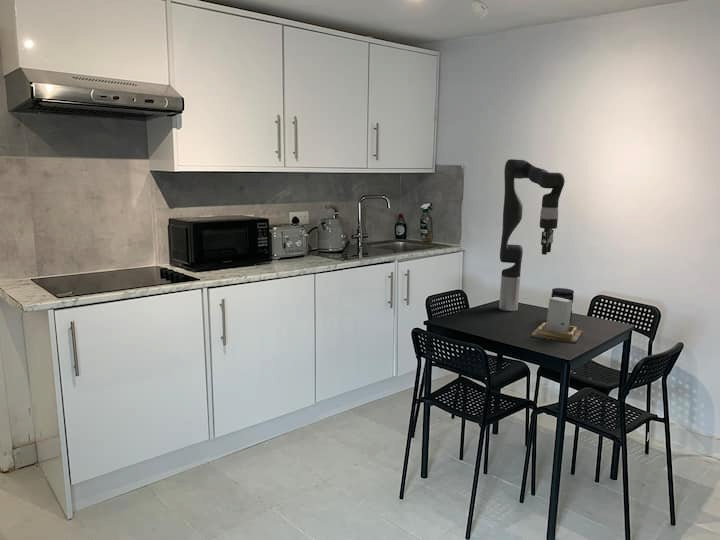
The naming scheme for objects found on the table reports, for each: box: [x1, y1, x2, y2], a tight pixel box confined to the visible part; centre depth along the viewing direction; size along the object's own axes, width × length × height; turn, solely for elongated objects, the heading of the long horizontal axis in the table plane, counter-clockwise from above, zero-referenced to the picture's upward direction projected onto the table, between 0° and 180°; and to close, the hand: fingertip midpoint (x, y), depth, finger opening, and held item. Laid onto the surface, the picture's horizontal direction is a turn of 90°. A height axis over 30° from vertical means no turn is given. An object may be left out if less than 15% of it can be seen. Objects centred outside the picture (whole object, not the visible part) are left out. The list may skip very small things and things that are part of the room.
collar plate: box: [530, 321, 583, 344], centre depth 240 cm, size 18×18×3 cm
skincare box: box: [545, 297, 573, 333], centre depth 239 cm, size 8×6×15 cm
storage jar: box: [550, 287, 575, 324], centre depth 262 cm, size 10×10×15 cm
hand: (546, 253), depth 251 cm, fingers open, 8 cm apart
